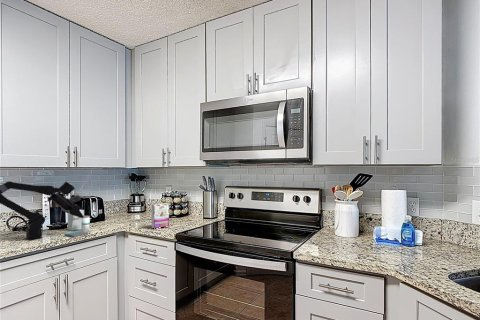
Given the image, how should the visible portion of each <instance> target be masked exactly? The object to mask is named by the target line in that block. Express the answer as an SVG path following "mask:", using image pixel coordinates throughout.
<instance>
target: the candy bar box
mask: <svg viewBox="0 0 480 320" xmlns="http://www.w3.org/2000/svg"><path fill="white" fill-rule="evenodd" d="M166 226H169V227H170V203H156V204H151V229H152V228H159V227H166Z"/></svg>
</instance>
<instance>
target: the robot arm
mask: <svg viewBox="0 0 480 320" xmlns="http://www.w3.org/2000/svg"><path fill="white" fill-rule="evenodd" d="M10 189H13V190H19V191H27V192H33V193H38V194H42V195H45V196H47V200H46V201H47V202H49V203H50V202H51V201H52V202H54V203H55V204H56V205H57V206H58V207H60V208H61V210H62V211H63V212H64V213H66V214H68V213H69V214H71V215H74V216H77V217H80V218H83V217H84V216H85V215H84V216H83V215H82V213H81V212H80V210H81V206H80V205H79V204H75V203H77V202H80V201H81V200H82V199H81V196H80V195H79V194H76V195H74V194H71V193H72V192H73V191H74V190H75V189H76V188H75V186H73V185H72V184H71V183H69V182H68V181H65V182H63V183H62V184H61V185H60V186H59V187H54V186H52V185H50V184H49V185H34V184H27V183H21V182H14V181H9V180H8V181H5V182H3V183H2V184H0V205H3V206H4V207H7V208H8V209H10V210H12V211H14V212H15V213H18V214H20V215H21V216H23V217H25V218H26V219H27V220H29V221H28V222H27V223H26V227H27V228H26V229H25V230H26V231H25V237H24V238H23V239H24V240H28V241H33V240H38V239H43V229H42V225H43V224H45V222H46V217H45V216H44V214H43V213H40V212H39V211H37V210H34V211H30V210H28V209H27V208H25V207H24V206H22V205H19V204H18V203H16V202H14V201H12V200H10V199H9V198H7V197H6V196H4V195H3V193H5V192H7V191H8V190H10ZM69 194H71V195H70V197H69V198H68V197H65V196H69Z"/></svg>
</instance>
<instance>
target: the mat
mask: <svg viewBox="0 0 480 320" xmlns="http://www.w3.org/2000/svg"><path fill="white" fill-rule="evenodd" d="M87 235H89V231H88V232H83V231H81V230H74V231H70V232H66V233H64V237H68V238H78V237H82V236H87Z"/></svg>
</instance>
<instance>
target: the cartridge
mask: <svg viewBox="0 0 480 320" xmlns="http://www.w3.org/2000/svg"><path fill="white" fill-rule="evenodd" d="M90 221H91V218H90V215H84V217H83V218H82V223H81V229H80V231H83V232H88V233H89V232H90Z"/></svg>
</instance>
